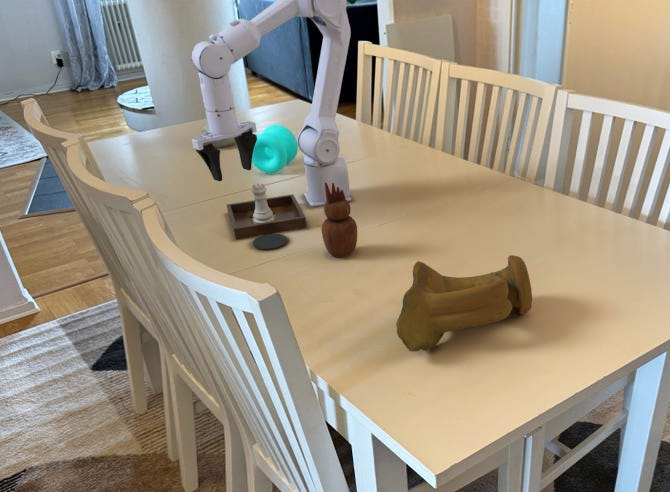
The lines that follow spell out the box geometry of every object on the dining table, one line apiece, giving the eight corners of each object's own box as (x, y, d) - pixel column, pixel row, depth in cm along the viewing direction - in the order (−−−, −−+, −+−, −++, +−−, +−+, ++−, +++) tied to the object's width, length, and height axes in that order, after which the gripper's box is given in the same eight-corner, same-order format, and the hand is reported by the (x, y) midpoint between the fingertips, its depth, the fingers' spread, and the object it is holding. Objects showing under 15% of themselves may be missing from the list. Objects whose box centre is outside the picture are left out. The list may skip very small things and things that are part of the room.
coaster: (284, 233, 143) (284, 231, 143) (290, 246, 138) (290, 245, 138) (250, 238, 142) (250, 236, 141) (255, 252, 136) (255, 250, 136)
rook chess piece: (265, 215, 151) (259, 180, 147) (278, 219, 149) (273, 184, 144) (249, 221, 149) (243, 186, 144) (263, 226, 146) (256, 191, 142)
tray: (294, 204, 156) (293, 194, 155) (307, 227, 145) (305, 217, 144) (228, 214, 152) (226, 204, 151) (235, 239, 141) (233, 229, 140)
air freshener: (201, 143, 195) (193, 107, 189) (227, 136, 199) (221, 101, 193) (216, 152, 187) (209, 115, 182) (244, 145, 191) (238, 109, 186)
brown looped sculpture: (386, 259, 116) (513, 231, 115) (402, 331, 120) (526, 304, 119) (384, 280, 98) (535, 247, 97) (404, 364, 102) (549, 333, 101)
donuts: (301, 162, 178) (296, 124, 173) (286, 176, 171) (281, 136, 165) (266, 160, 181) (260, 122, 175) (250, 174, 173) (243, 134, 167)
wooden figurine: (327, 262, 132) (318, 187, 123) (322, 249, 136) (313, 177, 128) (361, 257, 133) (355, 183, 124) (355, 244, 138) (349, 172, 129)
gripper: (236, 97, 142) (247, 160, 150) (177, 113, 133) (192, 180, 141) (258, 102, 139) (268, 167, 146) (198, 119, 130) (213, 188, 138)
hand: (232, 174), depth 144 cm, fingers open, 7 cm apart
